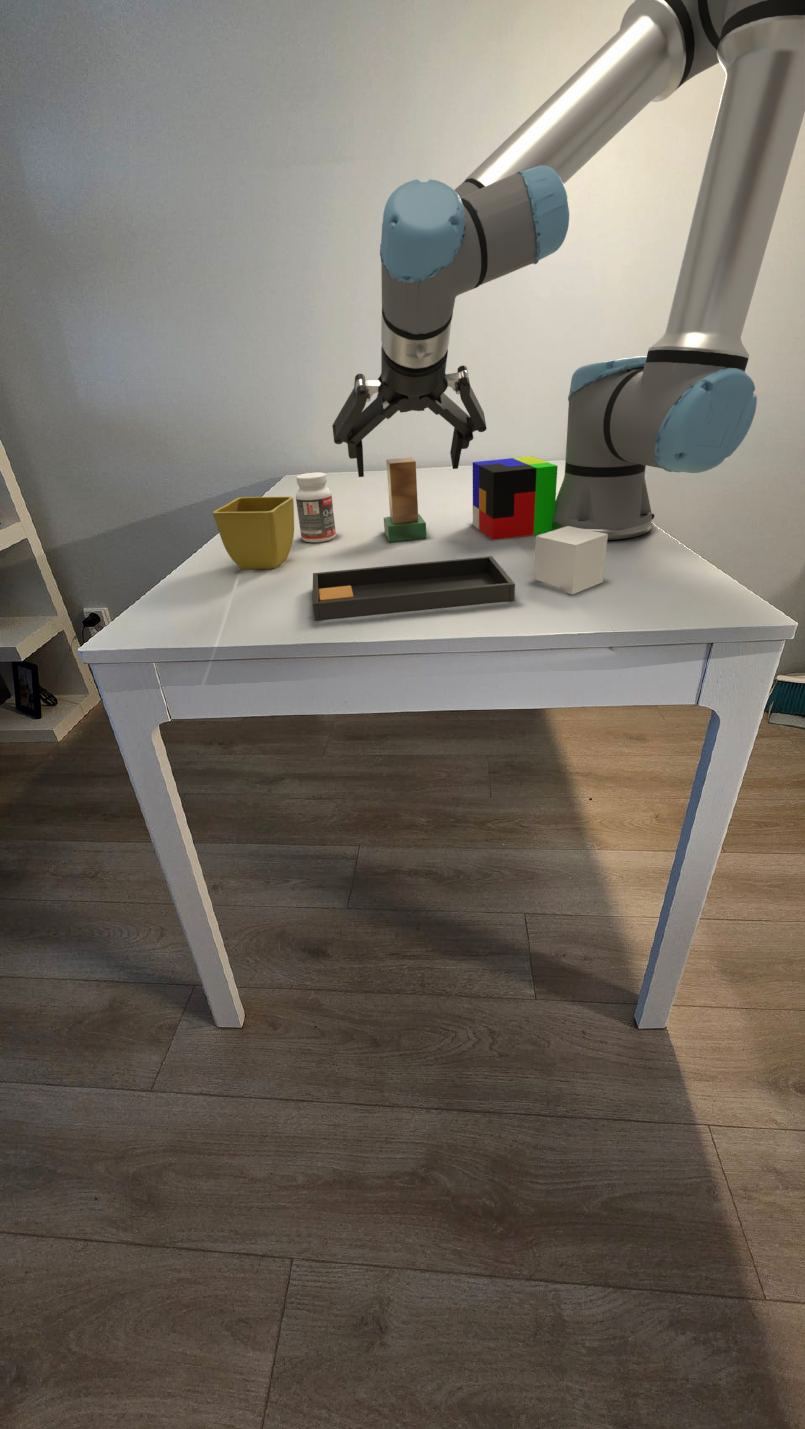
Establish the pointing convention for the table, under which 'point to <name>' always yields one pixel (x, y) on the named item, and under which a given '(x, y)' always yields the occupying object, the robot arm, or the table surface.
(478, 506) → the puzzle toy
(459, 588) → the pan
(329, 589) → the orange flat block
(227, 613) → the table surface
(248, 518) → the flower pot
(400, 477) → the stacked blocks
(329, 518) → the pill bottle
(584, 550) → the beige cube
